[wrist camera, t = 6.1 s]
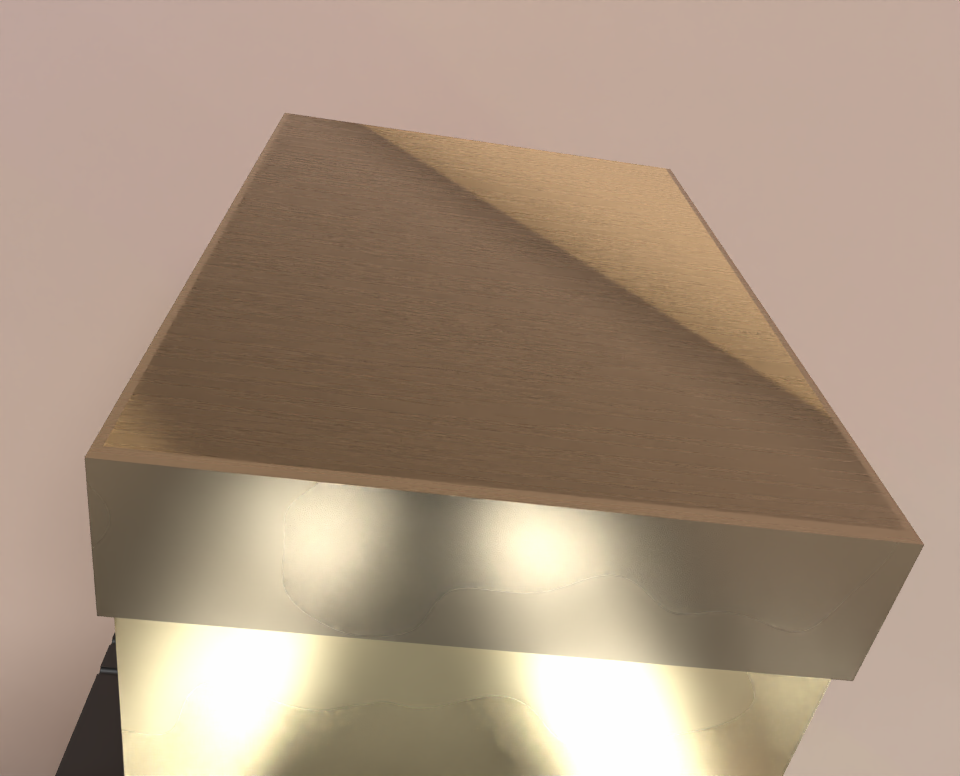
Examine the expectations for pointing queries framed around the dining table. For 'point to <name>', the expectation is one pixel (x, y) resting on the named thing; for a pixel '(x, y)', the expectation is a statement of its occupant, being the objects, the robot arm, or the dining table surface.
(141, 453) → the block
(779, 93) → the dining table surface
